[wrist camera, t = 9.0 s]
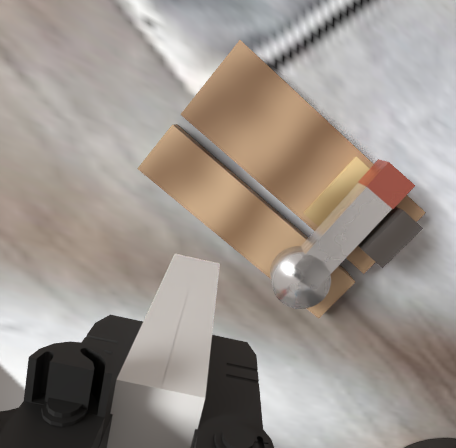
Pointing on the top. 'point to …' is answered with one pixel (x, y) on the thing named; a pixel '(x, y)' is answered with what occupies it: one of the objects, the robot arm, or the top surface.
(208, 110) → the door boards
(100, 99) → the top surface
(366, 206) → the latch arm
